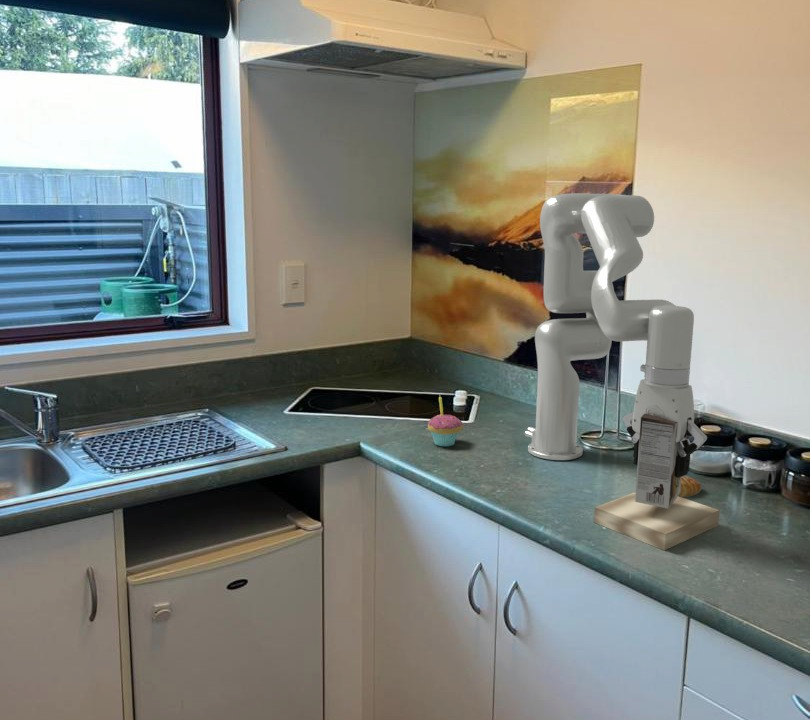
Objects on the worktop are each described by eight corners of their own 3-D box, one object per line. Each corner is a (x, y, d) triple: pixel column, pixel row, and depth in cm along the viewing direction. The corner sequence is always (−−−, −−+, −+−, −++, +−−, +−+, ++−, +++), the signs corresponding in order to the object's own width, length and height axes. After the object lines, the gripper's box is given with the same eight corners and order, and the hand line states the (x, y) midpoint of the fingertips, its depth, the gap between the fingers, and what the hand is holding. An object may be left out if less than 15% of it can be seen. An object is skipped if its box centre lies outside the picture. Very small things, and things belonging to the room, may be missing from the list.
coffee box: (646, 486, 152) (652, 404, 149) (681, 493, 149) (688, 409, 146) (633, 502, 144) (639, 416, 141) (669, 509, 141) (676, 421, 138)
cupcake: (420, 443, 194) (420, 395, 192) (443, 435, 200) (444, 389, 198) (446, 451, 188) (446, 402, 186) (469, 443, 194) (470, 395, 192)
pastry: (687, 484, 168) (689, 467, 168) (708, 496, 162) (710, 478, 161) (649, 489, 166) (650, 472, 165) (669, 501, 159) (670, 483, 159)
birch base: (593, 522, 148) (594, 507, 148) (648, 500, 159) (649, 486, 158) (664, 550, 137) (665, 534, 136) (718, 525, 147) (719, 510, 147)
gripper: (613, 369, 146) (608, 461, 150) (699, 388, 133) (691, 487, 137) (638, 364, 151) (632, 453, 155) (723, 381, 138) (715, 478, 141)
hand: (660, 468), depth 146 cm, fingers closed on coffee box, 8 cm apart
